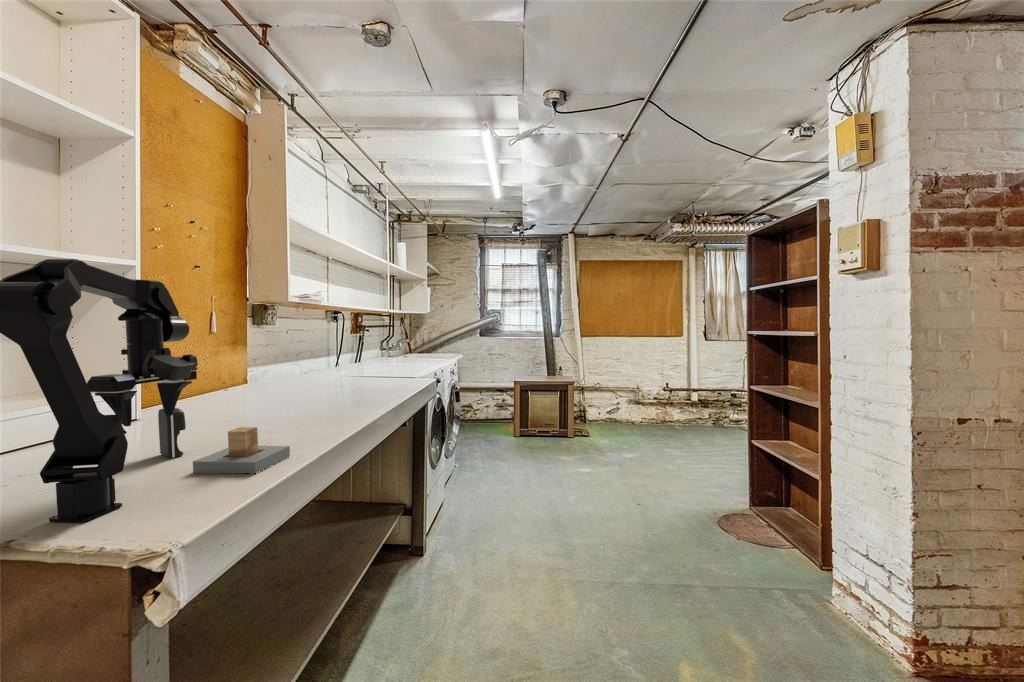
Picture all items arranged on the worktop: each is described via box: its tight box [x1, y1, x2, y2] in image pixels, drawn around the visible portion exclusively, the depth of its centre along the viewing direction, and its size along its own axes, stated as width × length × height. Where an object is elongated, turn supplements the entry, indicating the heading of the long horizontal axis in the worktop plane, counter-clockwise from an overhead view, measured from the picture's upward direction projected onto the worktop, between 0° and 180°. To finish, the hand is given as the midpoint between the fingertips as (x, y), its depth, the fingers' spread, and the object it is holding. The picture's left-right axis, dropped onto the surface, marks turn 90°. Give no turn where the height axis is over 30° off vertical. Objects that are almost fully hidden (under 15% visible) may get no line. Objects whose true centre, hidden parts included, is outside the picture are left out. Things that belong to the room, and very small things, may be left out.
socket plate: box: [192, 445, 291, 474], centre depth 98 cm, size 12×14×2 cm
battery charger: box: [157, 407, 187, 459], centre depth 106 cm, size 7×4×11 cm, turn 54°
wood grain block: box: [227, 426, 259, 458], centre depth 98 cm, size 4×4×8 cm
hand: (149, 420), depth 89 cm, fingers open, 9 cm apart
